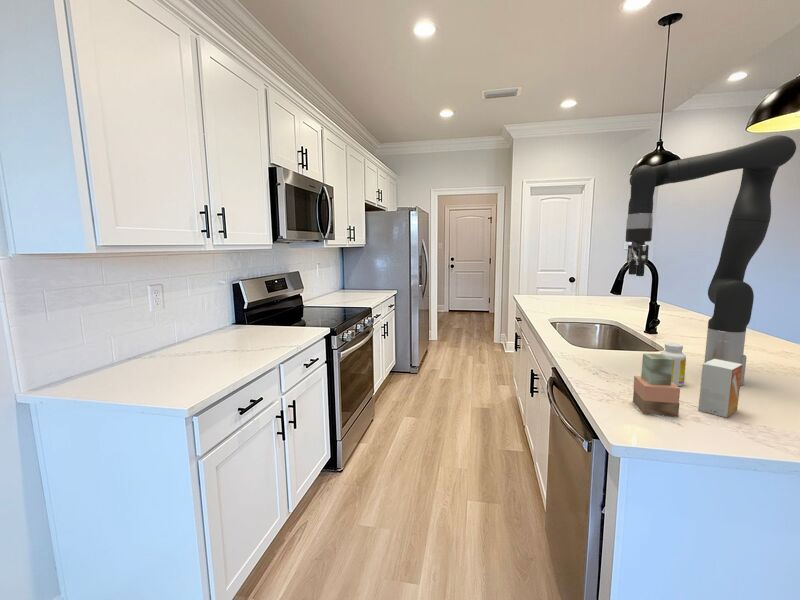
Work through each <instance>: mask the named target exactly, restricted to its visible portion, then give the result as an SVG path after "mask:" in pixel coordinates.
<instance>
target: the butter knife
mask: <svg viewBox="0 0 800 600" xmlns="http://www.w3.org/2000/svg"><path fill="white" fill-rule="evenodd" d="M632 407H634V408H635V409H637V408H638V407H637V406H636V405H635V404H634V405H632ZM638 410H639V408H638ZM651 416H655V417H657V418H659V417H660V419H662V420H664V419H665V420H664V421H667V422H670V423H673V424H675V425H677V424H678V425H677V426H679V427H683V426H682V424H681V423H678V422H676V421H674V420H672V419H669V418H667V417H666V416H662V415H658V414H652V415H651ZM680 425H681V426H680Z"/></svg>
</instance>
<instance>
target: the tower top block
mask: <svg viewBox="0 0 800 600" xmlns="http://www.w3.org/2000/svg"><path fill="white" fill-rule="evenodd" d="M632 389H633V392H634V391H635V392H636V393H637V394H638V395H639V396H640V397H641V398H642V399H643V400H644V401H655V402H668V403H679V404H680V395H681V388H680V386H676V385H675V384H674V383H673V382H671V385H652V384H649V383H647V382H646V381H645V380H643V379H642V378H641V375H640V376H639V375H634V377H633V388H632Z"/></svg>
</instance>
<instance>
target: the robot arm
mask: <svg viewBox="0 0 800 600" xmlns="http://www.w3.org/2000/svg"><path fill="white" fill-rule="evenodd" d="M796 151H797V144H796V142H795V140H794V139H793V138H791V137H789V136H787V135H782V134H780V135H779V134H778V135H777V134H776V135H772V136H768V137H766V138H765V137H764V138H763V139H760V140H758V141H754V142H751V143H748V144H745V145H742V146H741V145H740V146H738V147H735V148H731V149H726V150H722V151H717V152H712V153H707V154H702V155H696V156H691V157H690V156H689V157H686V158H681V159H675V160H672V161H668V162H666V163H663V164H661V165H656V166H652V165H648V164H644V165H640V166H638V167H636V168H635V169H634V170H633V171H632V173H631V175H630V177H629V185H630V199H629V201H628V210H627V211H628V212H627V218H626V225H625V226H626V229H625V243H630V244H631V245H630V244H629V245H627V257H626V262H627V263H628V275H631V276H632V275H635V276H636V277H644V275H645V267H646V266H645V265H646V264H648V263H649V249H650V246H649V244H646V243H648V242H649V243H650V242H652V239H653V225H654V223H653V222H654V217H653V213H654V212H653V211H654V196H655V189H656V187H659V186H664V185H668V184H677V183H682V182H683V183H684V182H687V181H693V180H697V179H701V178H702V179H703V178H705V177H709V176H713V175H717V174H722V173H725V172H730V171H736V170H742V174H741V181H740V186H739V191H738V193H737V196H736V199H735V201H734V205H733V207H732V209H731V210H732V211H731V213H730V217H729V220H728V223H727V227H726V231H725V234H724V235H725V236H724V239H723V243H722V248H721V252H720V256H719V261H718V264H717V266H716V269H715V272H714V274H713V276H712V279H711V281H710V284H709V285H708V289H707V297H708V299H709V300H710V302H711V303H712V304H714V308H713V315H712V316H711V317H710V318H709V319H708V322H707V331H706V332H707V334H706V342H705V343H706V344H705V351H704V352H705V353H704V360H703V364H704V363H706V362H707V361H710V360H713V359H718V360H723V361H729V362H734V363H739V364H743V366H742V374H741V382H740V386H744V382H745V377H746V376H745V374H746V368H747V367H746V365H747V355H745V353H744V351H745V342H746V334H747V327H748V325H749V323H750V322H751V320H752V319H751V318H752V312H753V307H754V306H753V305H754V299H755V296H754V289H753V288H752V287H751V285H750V284H749V283H747V282H746V281H744V280H745V276H746V275H745V274H746V272H747V271H746V270H747V267H748V266H749V263H750V261H751V259H753V257H754V255H755V254H756V253H757V251H758V249H759V248H760V247H761V245H762V244H763V242H764V240H765V238H766V235H767V233H768V229H769V226H770V222H771V217H772V200H771V199H772V198H771V190H772V186H773V183H774V180H775V177H776V175H777V172H778V170H779V168H780V167H782V166H783V165H785V164H786V163H788V162H789V161H790V160H791V159H792V158H793V157H794V155H795V154H796Z"/></svg>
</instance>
